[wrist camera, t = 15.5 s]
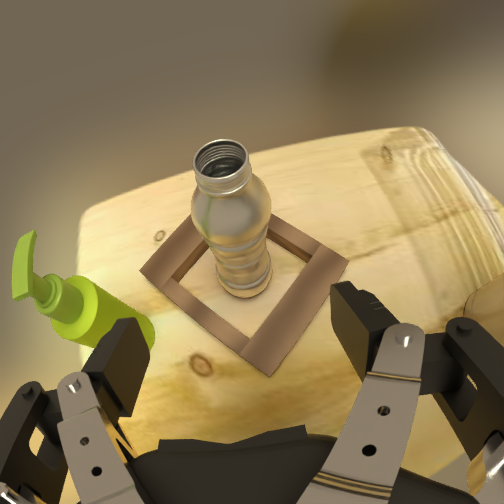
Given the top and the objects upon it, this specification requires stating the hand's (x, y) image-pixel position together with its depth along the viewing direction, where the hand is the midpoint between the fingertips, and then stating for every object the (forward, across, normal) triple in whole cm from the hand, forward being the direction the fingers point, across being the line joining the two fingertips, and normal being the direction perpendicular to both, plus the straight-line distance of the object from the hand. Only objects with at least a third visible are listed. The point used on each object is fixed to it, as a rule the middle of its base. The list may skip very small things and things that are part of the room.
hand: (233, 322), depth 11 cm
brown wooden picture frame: (+23, 0, +8) cm, 24 cm away
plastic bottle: (+23, 0, +8) cm, 24 cm away
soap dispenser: (+19, +15, +12) cm, 27 cm away
